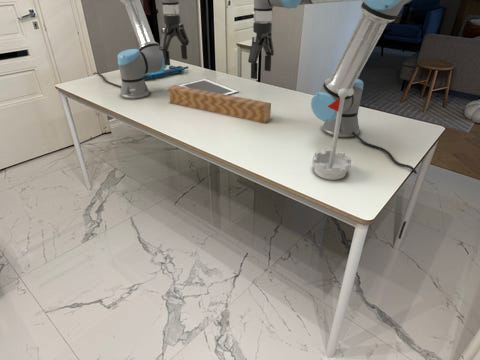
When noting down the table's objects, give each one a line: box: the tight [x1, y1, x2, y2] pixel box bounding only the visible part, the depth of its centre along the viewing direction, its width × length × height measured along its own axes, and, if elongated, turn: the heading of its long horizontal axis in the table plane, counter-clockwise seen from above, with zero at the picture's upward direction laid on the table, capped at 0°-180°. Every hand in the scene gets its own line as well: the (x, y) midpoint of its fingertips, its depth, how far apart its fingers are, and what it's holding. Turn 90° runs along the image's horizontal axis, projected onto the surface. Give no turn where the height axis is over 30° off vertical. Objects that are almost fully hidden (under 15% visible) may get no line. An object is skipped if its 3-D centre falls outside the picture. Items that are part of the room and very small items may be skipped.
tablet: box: [177, 78, 239, 95], centre depth 198 cm, size 32×20×1 cm, turn 41°
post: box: [168, 84, 272, 124], centre depth 168 cm, size 56×6×8 cm, turn 61°
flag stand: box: [312, 88, 352, 181], centre depth 113 cm, size 13×13×30 cm
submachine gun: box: [143, 64, 189, 81], centre depth 225 cm, size 34×4×25 cm
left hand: (176, 61), depth 168 cm, fingers open, 13 cm apart
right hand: (261, 74), depth 149 cm, fingers open, 13 cm apart
